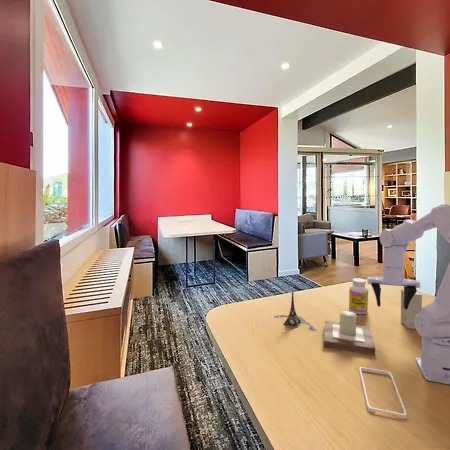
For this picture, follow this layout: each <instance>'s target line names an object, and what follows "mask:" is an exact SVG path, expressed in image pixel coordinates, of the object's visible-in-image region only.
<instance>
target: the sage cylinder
mask: <svg viewBox="0 0 450 450" xmlns="http://www.w3.org/2000/svg"><path fill="white" fill-rule="evenodd" d="M339 323H340V333H342V334H344V335H347V336H354V335H355V334H356V325H357V314H355V313H353V312H351V311H350V310H347V311H346V310H343V311H340V312H339Z"/></svg>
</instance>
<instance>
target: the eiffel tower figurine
mask: <svg viewBox="0 0 450 450" xmlns="http://www.w3.org/2000/svg"><path fill="white" fill-rule="evenodd" d="M294 293H295V292H294V291H291V302H290V303H291V305H290V309H289V314H288V315H285V314H281V315H274V316H273V317H274V319H277V318H286V320H285V322H284V323H283V326H287V327H292V328H295V329H298V328H299V327H300V326H301V324H304V325H307V326H309V328H308V331H311V332H317V329H316V328H315V327H314V326H312V325H311V324H310V323H309V322H308V321H307V320H305V319H304V318H303V317H302V316H300V315H298V314H297V312H296V308H295V299H294ZM279 316H280V317H279Z"/></svg>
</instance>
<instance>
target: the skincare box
mask: <svg viewBox="0 0 450 450" xmlns="http://www.w3.org/2000/svg"><path fill="white" fill-rule="evenodd" d="M422 303H423V294H422V293H421V292H419V291H417V292H416V294H415V295H414V296H413V297H412V299H411V301H410V303H409V306H408V309H405V308H404V288H401V289H400V322H401V323H402V325H404V326H405V328H407V329H411V330H412V329H413V330H415V329H416V328H415V324H414V320H415V317H416V315H417V314H418V313H420V312H421V310H422V308H423V304H422Z"/></svg>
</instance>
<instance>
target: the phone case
mask: <svg viewBox="0 0 450 450" xmlns="http://www.w3.org/2000/svg"><path fill="white" fill-rule="evenodd" d="M362 371H363V372H370V373H375V374H381V375H388V377H389V378H390V379H391V381H392V383H393V386H394V391H395V393H396V397H397V399H398V401H399V405H400V407H401V409H402V412H403V413H401V412H397V411H393V410H387V409H382V408H381V409H380V408H376V407H372V406H371V405H370V404H369V401H368V400H369V399H368V395H367V391H366V390H367V389H366V386H365V381H364V378H363V373H362ZM359 376H360V380H361V386H362V390H363V394H364V395H363V396H364V399H365V403H366V408H367V410H368V412H369V413H374V412H375V411H377V412H381V413H382V412H383V413H386V414H391V415H396V416H399V418H400V419H403V418H406V419H407V411H406V408H405V406H404V403H403V400H402V398H401V394H400V393H399V390H398V387H397V385H396V383H395V379H394V377H393V374H392V373H391V372H390V371H387V370H383V369H382V370H381V369H375V368H370V367H363V366H360V367H359Z"/></svg>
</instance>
